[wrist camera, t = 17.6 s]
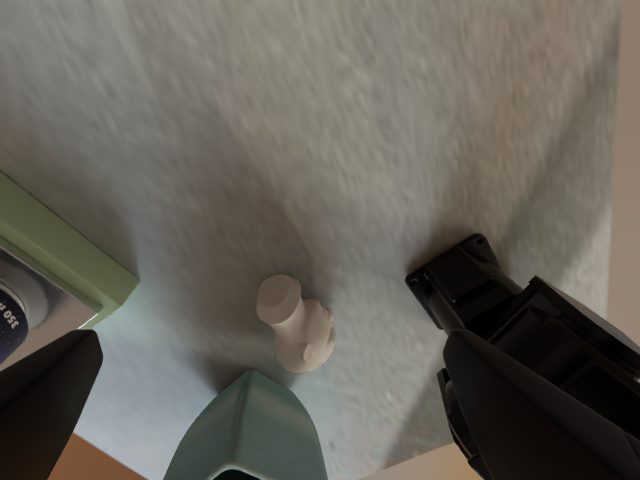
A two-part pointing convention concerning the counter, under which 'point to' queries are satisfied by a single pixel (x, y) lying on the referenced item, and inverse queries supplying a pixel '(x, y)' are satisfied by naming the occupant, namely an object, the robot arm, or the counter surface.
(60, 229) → the scale
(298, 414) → the flower pot
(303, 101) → the counter surface
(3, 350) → the beverage can
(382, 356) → the counter surface
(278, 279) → the pale two-lobed sculpture
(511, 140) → the counter surface
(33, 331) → the pan
